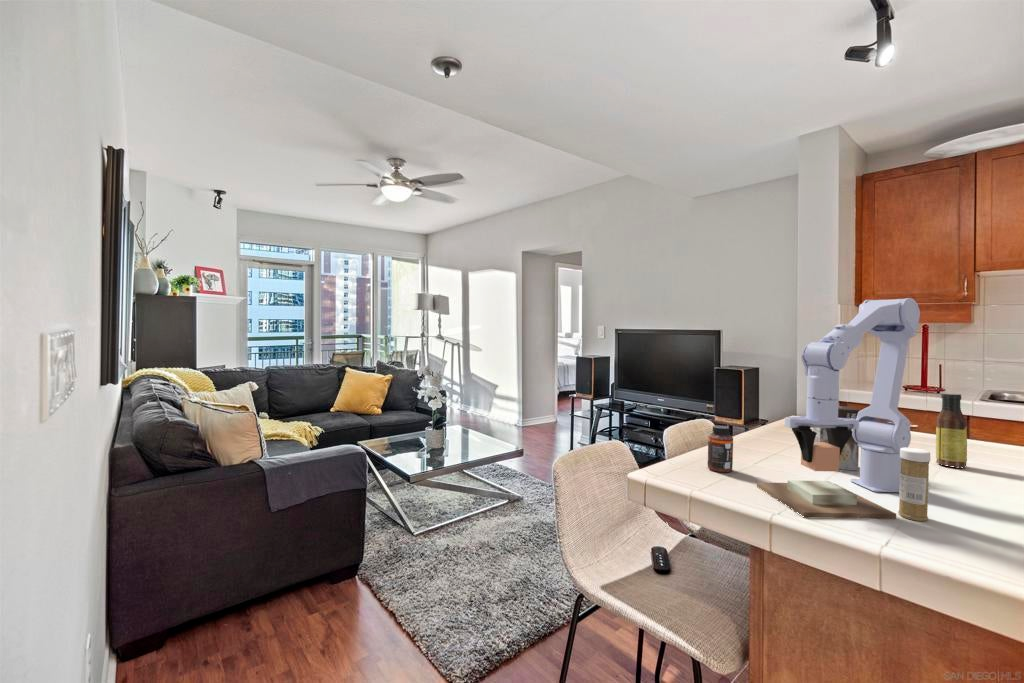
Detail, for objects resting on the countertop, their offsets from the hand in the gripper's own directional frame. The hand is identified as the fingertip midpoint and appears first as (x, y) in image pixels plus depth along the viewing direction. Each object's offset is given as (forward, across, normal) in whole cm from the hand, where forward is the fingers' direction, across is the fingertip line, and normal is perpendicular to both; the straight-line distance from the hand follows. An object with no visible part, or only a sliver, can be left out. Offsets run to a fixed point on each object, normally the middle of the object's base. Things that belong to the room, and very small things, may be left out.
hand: (820, 461), depth 102 cm
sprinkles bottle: (+9, -13, +9) cm, 18 cm away
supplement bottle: (+9, +12, -21) cm, 26 cm away
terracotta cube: (+2, 0, 0) cm, 2 cm away
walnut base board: (+8, 0, +1) cm, 8 cm away
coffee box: (+9, -21, -26) cm, 35 cm away
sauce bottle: (+8, -54, -29) cm, 62 cm away
